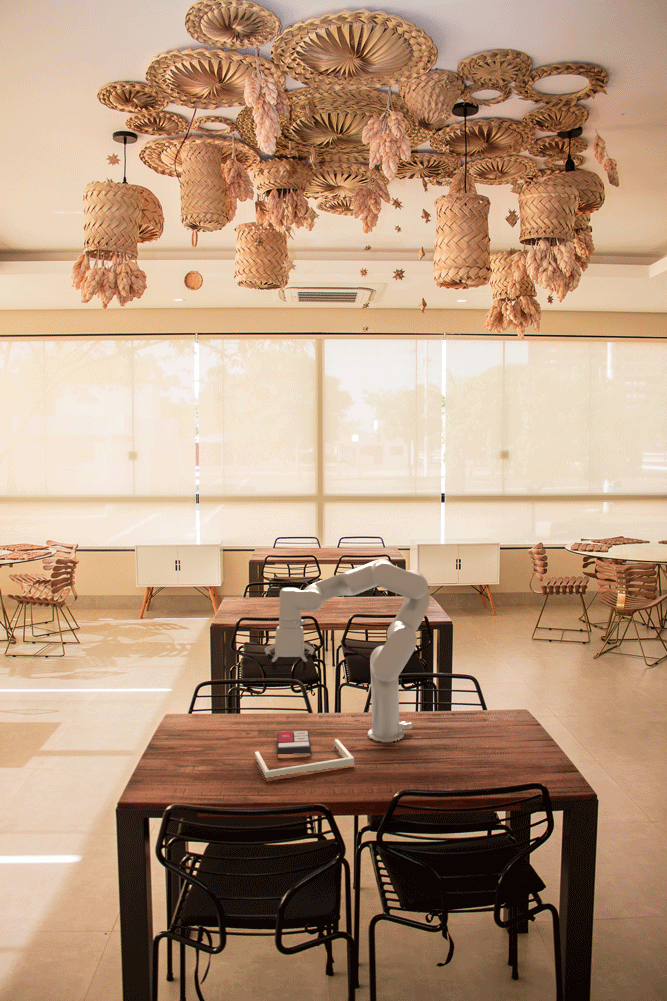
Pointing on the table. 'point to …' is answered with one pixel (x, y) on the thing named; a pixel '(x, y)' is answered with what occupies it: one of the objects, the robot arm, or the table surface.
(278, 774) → the slot
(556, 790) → the table surface
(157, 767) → the table surface
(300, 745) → the calculator
